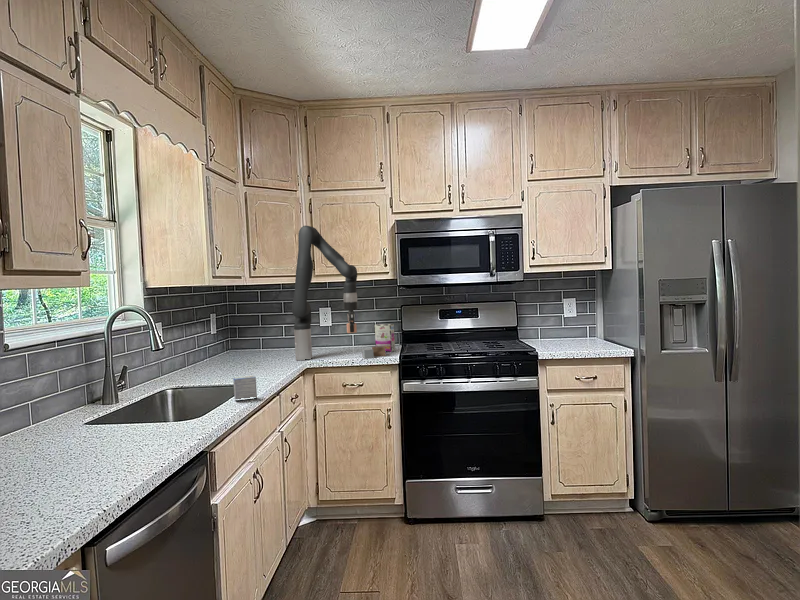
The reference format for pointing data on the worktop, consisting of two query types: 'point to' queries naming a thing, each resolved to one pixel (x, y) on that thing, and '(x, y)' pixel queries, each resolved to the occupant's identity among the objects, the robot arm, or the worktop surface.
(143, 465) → the worktop surface
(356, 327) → the terracotta cube
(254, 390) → the medicine box
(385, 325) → the candy bar box
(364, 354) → the slate cube
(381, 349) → the walnut block
